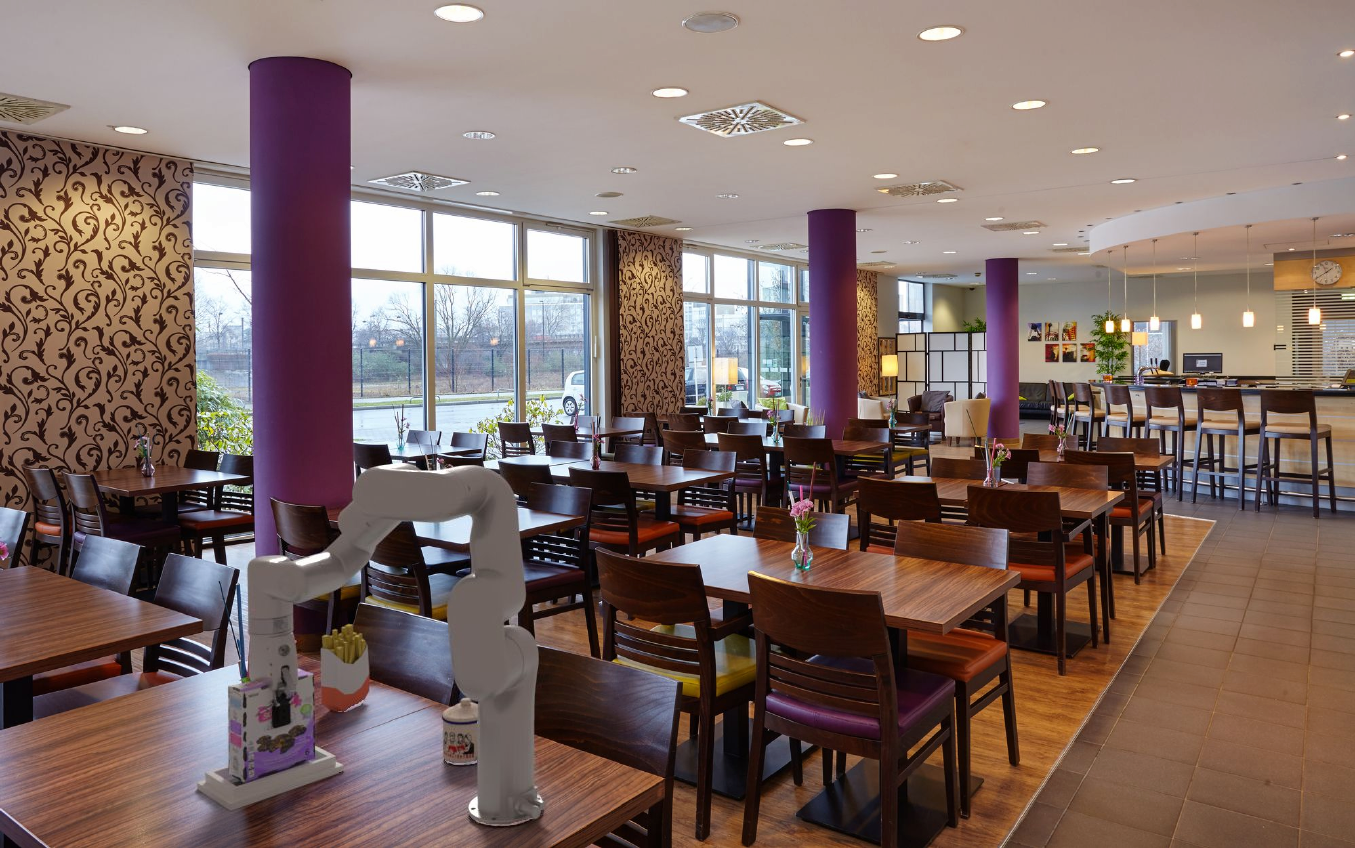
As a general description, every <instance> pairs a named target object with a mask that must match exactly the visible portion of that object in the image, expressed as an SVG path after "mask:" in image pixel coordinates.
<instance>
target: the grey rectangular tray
mask: <svg viewBox="0 0 1355 848" xmlns="http://www.w3.org/2000/svg"><path fill="white" fill-rule="evenodd" d="M336 758H337V755H335V754H332V753H330V752H329V751H326V750H325V749H322V748H320V747H318V746H316V745H315V759H312V760H309V761H307V762H304V763H301V764H298V765H295V766H292V767H289V768H286V769H284V770H281V771H278V772H275V773H272V774H269V775H266V776H263V777H260V778H257V779H255V780H252V781H249V782H246V783H244V782H242V781H240V780H238V779H237V778H235V777H233V776H231V775H229V764H228V765H225V766H222V767H218V768H216V769H211V770H209V771H206V772H204V773H205V774H204V777H205V778H204V779H203V780H200V781H198V782H196V790H198V791H199V792H200V793H202V794H204V795H206V796H207V797H209V798H210V799H211V800H213V801H215V802H216V803H217V804H218V805H221V806H222V807H223V808H225V809H227V810H228V811H230V812H232V811H234V810H239V809H240V808H243V807H246V806H249V805H252V804H254V803H257V802H260V801H263V800H267V799H269V798H272V797H274V796H277V795H280V794H283V793H286V792H289V791H292V790H295V789H297V788H300V787H303V786H305V785H309V784H312V783H315V782H319V781H320V780H323V779H326V778H330V777H332V776H334V775H337V774H340V773H339V772H341V773H343V772H342V771H344V770H345V769H344V768H345V767H344V764H342V763H340V762H338V761H337V759H336Z"/></svg>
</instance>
